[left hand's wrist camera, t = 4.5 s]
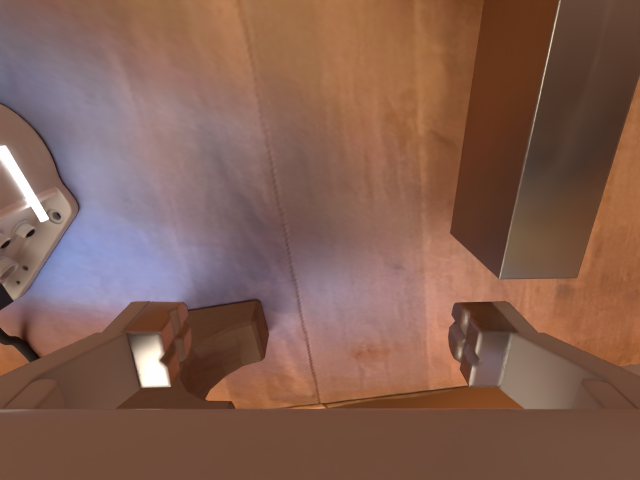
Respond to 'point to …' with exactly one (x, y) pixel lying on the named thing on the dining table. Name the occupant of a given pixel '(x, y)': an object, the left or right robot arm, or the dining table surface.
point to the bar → (543, 130)
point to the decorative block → (210, 357)
